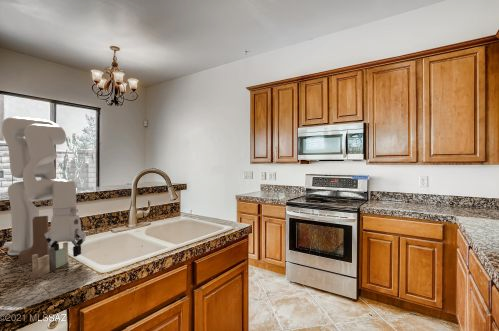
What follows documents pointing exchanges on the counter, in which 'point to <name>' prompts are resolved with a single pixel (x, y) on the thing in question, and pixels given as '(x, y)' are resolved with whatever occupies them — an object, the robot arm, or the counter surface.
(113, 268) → the counter surface
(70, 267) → the counter surface
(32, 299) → the counter surface
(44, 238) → the wooden block
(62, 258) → the fence swing section
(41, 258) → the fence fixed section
